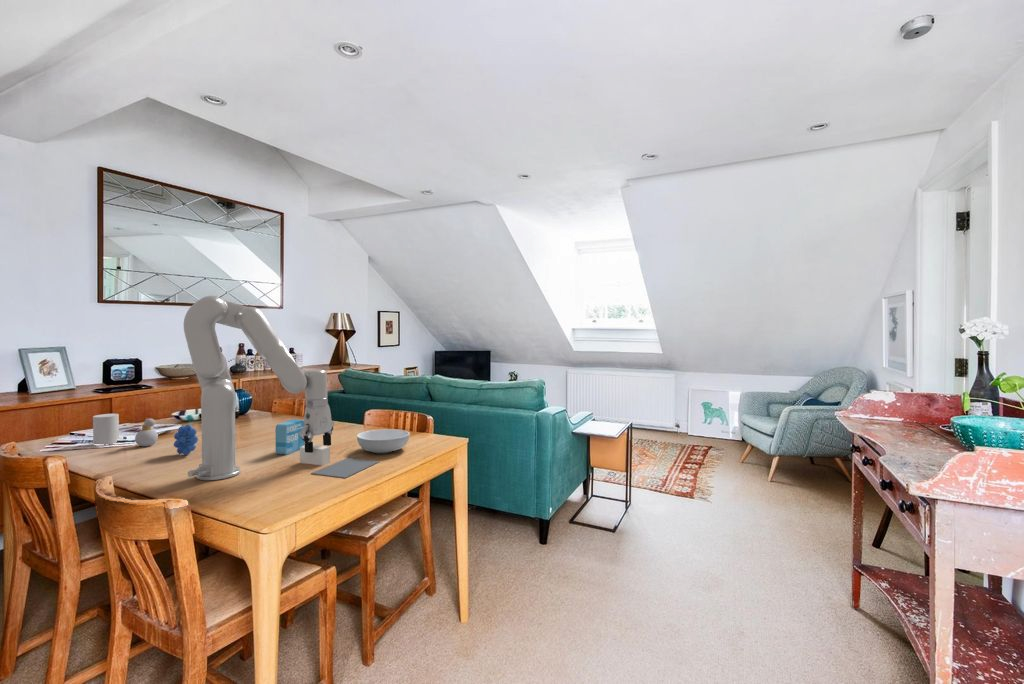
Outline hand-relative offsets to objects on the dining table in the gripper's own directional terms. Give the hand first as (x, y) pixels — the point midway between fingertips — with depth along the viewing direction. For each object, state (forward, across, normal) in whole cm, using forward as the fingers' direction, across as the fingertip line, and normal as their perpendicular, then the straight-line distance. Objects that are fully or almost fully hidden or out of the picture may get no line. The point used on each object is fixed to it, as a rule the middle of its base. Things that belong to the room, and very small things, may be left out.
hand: (318, 448), depth 172 cm
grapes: (+4, -9, +54) cm, 54 cm away
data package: (+5, +8, +21) cm, 23 cm away
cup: (+3, -8, +100) cm, 101 cm away
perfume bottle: (+3, -5, +81) cm, 81 cm away
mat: (+5, -3, -14) cm, 15 cm away
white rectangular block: (+5, -1, +1) cm, 5 cm away
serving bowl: (+6, +22, -13) cm, 27 cm away
